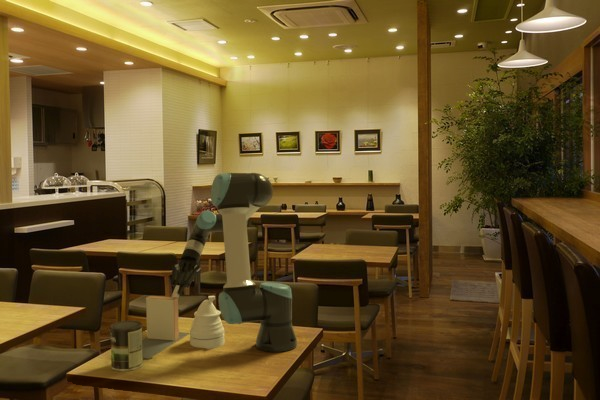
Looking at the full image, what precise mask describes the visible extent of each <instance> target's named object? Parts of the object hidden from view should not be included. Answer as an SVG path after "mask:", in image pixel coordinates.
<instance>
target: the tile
mask: <svg viewBox="0 0 600 400" xmlns="http://www.w3.org/2000/svg"><path fill="white" fill-rule="evenodd" d="M145 303H146V304H145V305H146V310H145V311H146V337H147V338H148V339H159V340H170V341H176V340H177V339H179V332H180V330H179V328H180V327H179V325H180V324H179V323H180V322H179V297H178V298H176V297H172V296H161V295H159V296H158V295H149V296H146V298H145Z"/></svg>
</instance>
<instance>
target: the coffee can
mask: <svg viewBox="0 0 600 400" xmlns="http://www.w3.org/2000/svg"><path fill="white" fill-rule="evenodd" d="M109 329H110V361H111V363H110V364H111V366H110V368H111V370H114V371H115V372H130V371H135V370H138V369H140V368H141V367H142V366H143V364H144V363H143V359H142V340H143V323H142V322H141V321H138V320H122V321H117V322H115V323H111V325H109Z"/></svg>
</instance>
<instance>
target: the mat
mask: <svg viewBox="0 0 600 400" xmlns="http://www.w3.org/2000/svg"><path fill="white" fill-rule="evenodd" d="M188 335H190V332H182V331H181V332H180V331H179V339H177V340H176V341H170V340H159V339H148V338H147V336H146V337H145V338H142V360H152V359H153V357H154V356H156V355H158V354H159V353H161V352H162V351H164V350H166V349H168V348H169V347H171V346H172V345H174V344H176V343H177V342H179V341H181V340H183V338H185V337H187V336H188Z"/></svg>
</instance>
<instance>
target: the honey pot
mask: <svg viewBox="0 0 600 400" xmlns="http://www.w3.org/2000/svg"><path fill="white" fill-rule="evenodd" d="M215 299H216V296H215V295H208V298H207V299H204V300H203V301H202V302H201V303H200V305H199V306H198V308H197V311H195V312H194V313H193V315H194V318H193V321H192V325H191V327H190V328H191V329H190V330H189V333H190V334H189V344H190V346H192V347H195V348H201V349H204V350H210V349H217V348H219V347H222V346H224V345H225V342H226V340H225V328H224V326H223V323H222V319H221V317H220V315H222V314H221V312H220V309H219V310H218V309H217V308H216V306H215V305H214V303H213V302H214V301H215Z"/></svg>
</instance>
